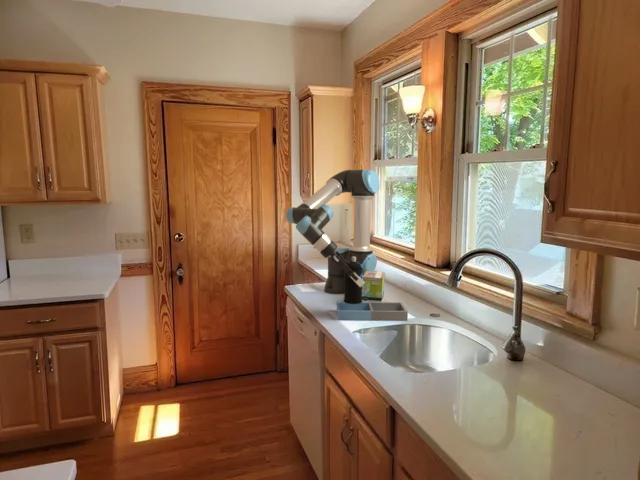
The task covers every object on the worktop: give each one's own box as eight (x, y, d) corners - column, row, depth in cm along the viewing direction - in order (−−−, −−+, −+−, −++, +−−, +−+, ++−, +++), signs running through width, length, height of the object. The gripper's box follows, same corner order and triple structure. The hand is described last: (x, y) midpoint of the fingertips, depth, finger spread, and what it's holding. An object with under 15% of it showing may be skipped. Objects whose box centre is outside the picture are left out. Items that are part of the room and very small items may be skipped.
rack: (336, 310, 200) (336, 302, 200) (401, 310, 200) (402, 302, 199) (337, 320, 186) (337, 311, 186) (407, 320, 186) (407, 311, 185)
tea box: (382, 308, 204) (383, 277, 202) (361, 307, 206) (361, 276, 204) (384, 299, 218) (384, 271, 216) (364, 298, 220) (364, 270, 218)
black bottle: (347, 304, 187) (348, 259, 184) (341, 299, 194) (341, 255, 192) (365, 303, 189) (366, 258, 186) (358, 298, 197) (359, 255, 194)
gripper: (319, 248, 199) (353, 282, 201) (318, 256, 178) (357, 294, 180) (331, 236, 198) (365, 271, 200) (331, 243, 178) (370, 282, 180)
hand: (361, 282), depth 190 cm, fingers closed on black bottle, 8 cm apart
